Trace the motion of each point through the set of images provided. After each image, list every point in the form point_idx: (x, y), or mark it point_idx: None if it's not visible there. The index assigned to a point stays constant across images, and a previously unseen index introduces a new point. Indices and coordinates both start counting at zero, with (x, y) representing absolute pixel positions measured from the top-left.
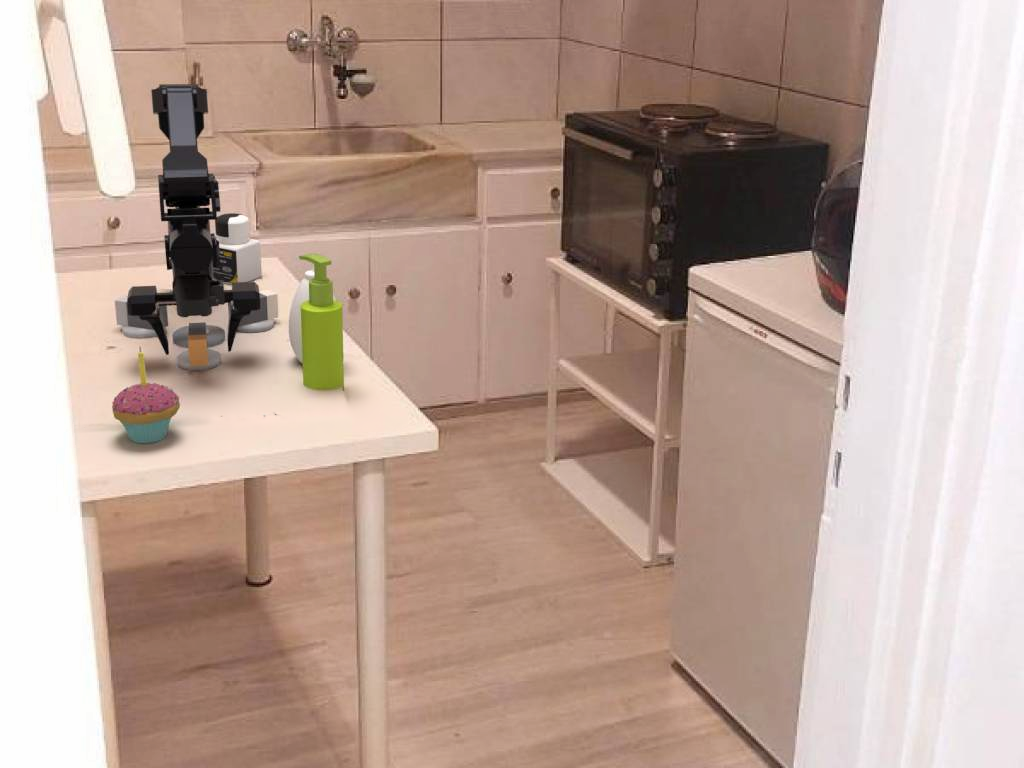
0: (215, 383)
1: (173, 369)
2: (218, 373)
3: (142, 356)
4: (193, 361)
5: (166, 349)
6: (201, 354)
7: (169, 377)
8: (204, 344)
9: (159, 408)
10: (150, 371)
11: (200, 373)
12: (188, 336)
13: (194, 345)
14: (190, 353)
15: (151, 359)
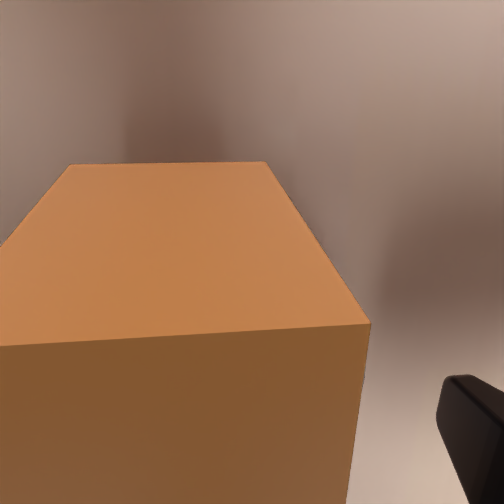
0: (23, 16)
1: None
2: None
3: None
4: (229, 177)
5: (499, 403)
6: (119, 208)
7: (395, 209)
8: (17, 280)
9: None
10: (492, 320)
11: None
12: (337, 496)
13: (218, 266)
14: (274, 208)
15: (453, 472)
